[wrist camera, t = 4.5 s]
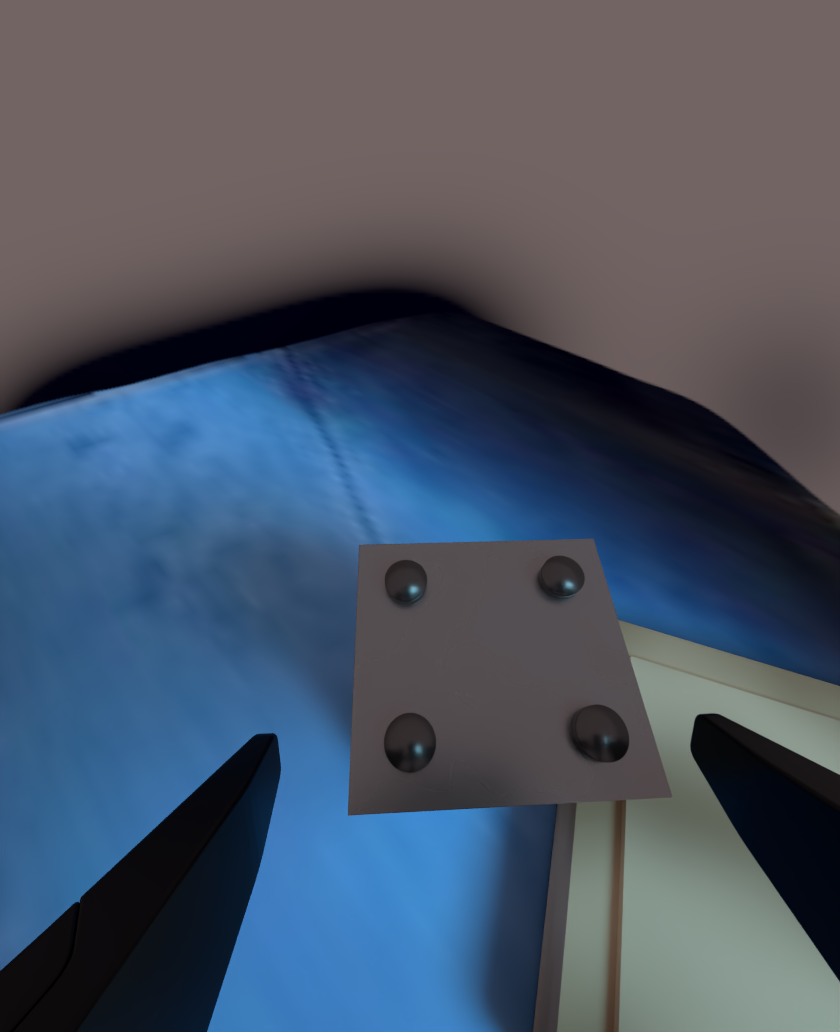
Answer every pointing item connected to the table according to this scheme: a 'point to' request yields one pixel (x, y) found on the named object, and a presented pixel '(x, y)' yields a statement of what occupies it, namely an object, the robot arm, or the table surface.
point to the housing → (493, 681)
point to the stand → (685, 872)
